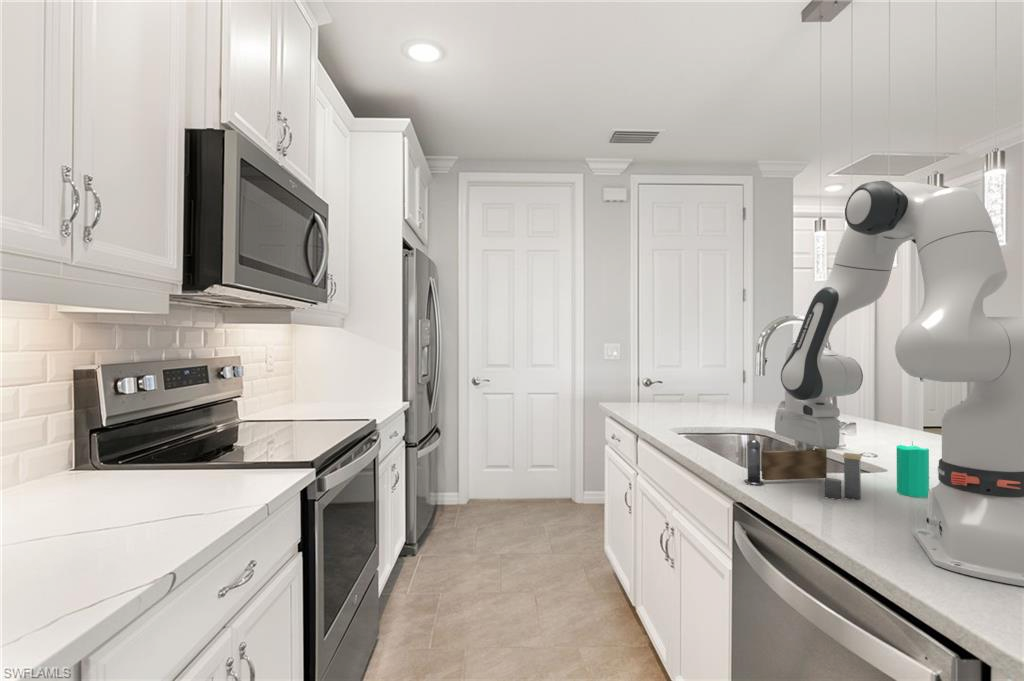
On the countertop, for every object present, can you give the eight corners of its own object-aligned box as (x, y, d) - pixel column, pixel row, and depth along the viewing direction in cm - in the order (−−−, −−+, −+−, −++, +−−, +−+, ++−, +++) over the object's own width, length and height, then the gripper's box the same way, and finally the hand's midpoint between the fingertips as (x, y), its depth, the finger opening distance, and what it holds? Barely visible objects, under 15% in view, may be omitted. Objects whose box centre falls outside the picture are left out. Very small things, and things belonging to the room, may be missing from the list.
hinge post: (761, 486, 127) (761, 441, 127) (742, 483, 130) (741, 439, 130) (765, 482, 131) (765, 438, 130) (746, 479, 133) (746, 437, 133)
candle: (934, 498, 117) (933, 444, 117) (901, 496, 119) (901, 442, 119) (923, 490, 122) (922, 439, 122) (892, 488, 124) (892, 437, 124)
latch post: (859, 502, 114) (859, 458, 114) (824, 497, 118) (824, 454, 118) (861, 497, 118) (861, 454, 118) (827, 492, 122) (827, 450, 122)
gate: (765, 480, 130) (765, 451, 130) (761, 478, 131) (761, 449, 131) (826, 478, 131) (826, 449, 131) (822, 476, 133) (822, 447, 133)
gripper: (768, 399, 144) (768, 450, 144) (820, 411, 123) (819, 470, 124) (790, 399, 144) (789, 449, 145) (845, 410, 124) (844, 469, 124)
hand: (804, 459), depth 134 cm, fingers closed
